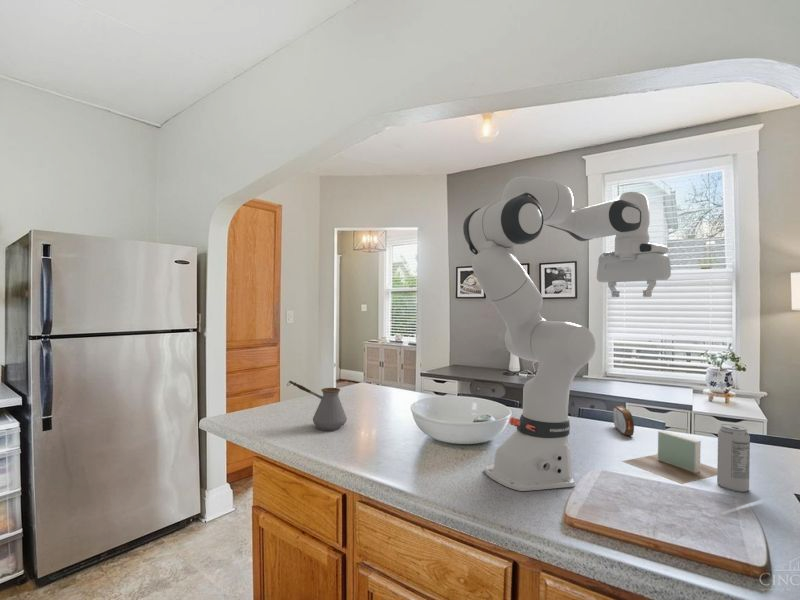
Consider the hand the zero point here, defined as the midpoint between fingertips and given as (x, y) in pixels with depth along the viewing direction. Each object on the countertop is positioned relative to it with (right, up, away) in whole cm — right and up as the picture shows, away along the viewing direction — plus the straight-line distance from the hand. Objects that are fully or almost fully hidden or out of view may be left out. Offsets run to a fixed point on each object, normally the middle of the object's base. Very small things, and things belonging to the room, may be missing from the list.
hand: (630, 297), depth 121 cm
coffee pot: (-96, -44, +21) cm, 108 cm away
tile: (+9, -46, -7) cm, 47 cm away
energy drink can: (+13, -47, -21) cm, 53 cm away
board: (+7, -47, -8) cm, 48 cm away
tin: (+11, -48, +26) cm, 56 cm away
